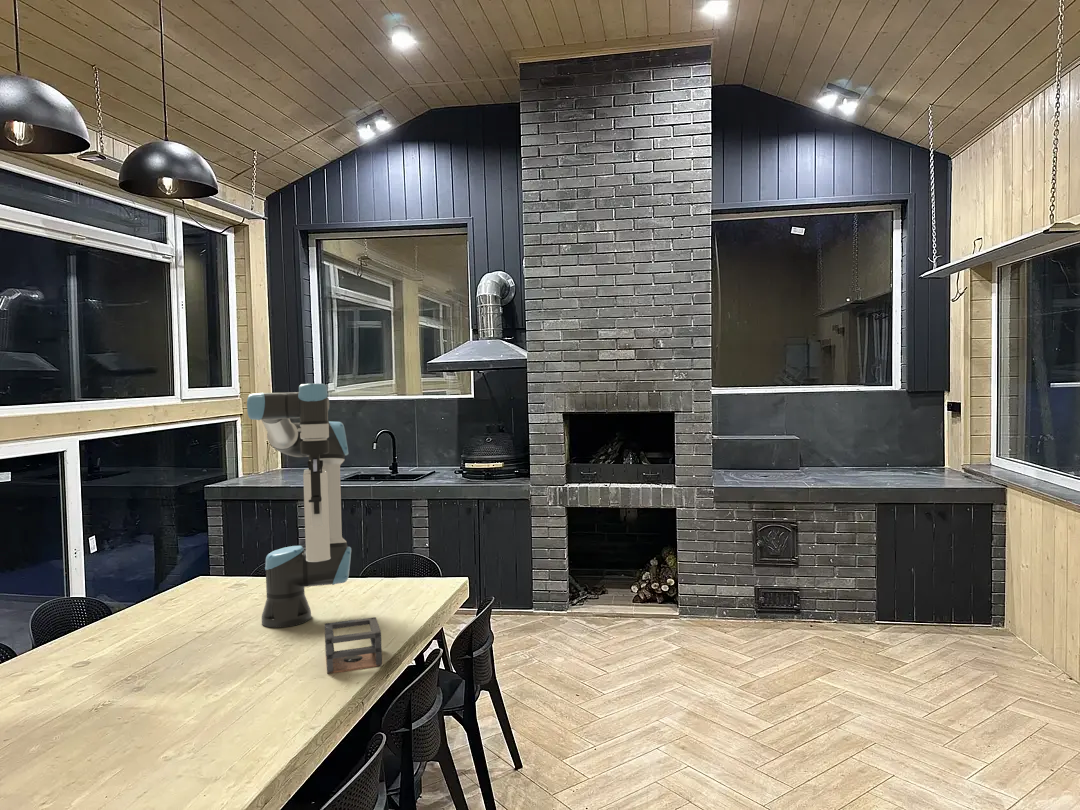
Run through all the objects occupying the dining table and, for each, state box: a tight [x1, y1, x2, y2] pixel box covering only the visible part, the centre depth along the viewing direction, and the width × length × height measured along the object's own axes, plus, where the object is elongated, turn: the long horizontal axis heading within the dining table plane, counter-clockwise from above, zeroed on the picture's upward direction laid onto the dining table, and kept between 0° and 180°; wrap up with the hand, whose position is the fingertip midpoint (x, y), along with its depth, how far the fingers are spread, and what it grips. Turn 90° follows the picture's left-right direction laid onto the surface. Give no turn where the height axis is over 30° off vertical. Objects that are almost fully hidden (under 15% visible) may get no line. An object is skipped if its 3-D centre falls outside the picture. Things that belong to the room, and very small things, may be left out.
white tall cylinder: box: [302, 468, 331, 562], centre depth 195 cm, size 6×6×25 cm
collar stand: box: [324, 616, 383, 675], centre depth 194 cm, size 14×14×9 cm
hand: (317, 523), depth 195 cm, fingers closed on white tall cylinder, 5 cm apart
